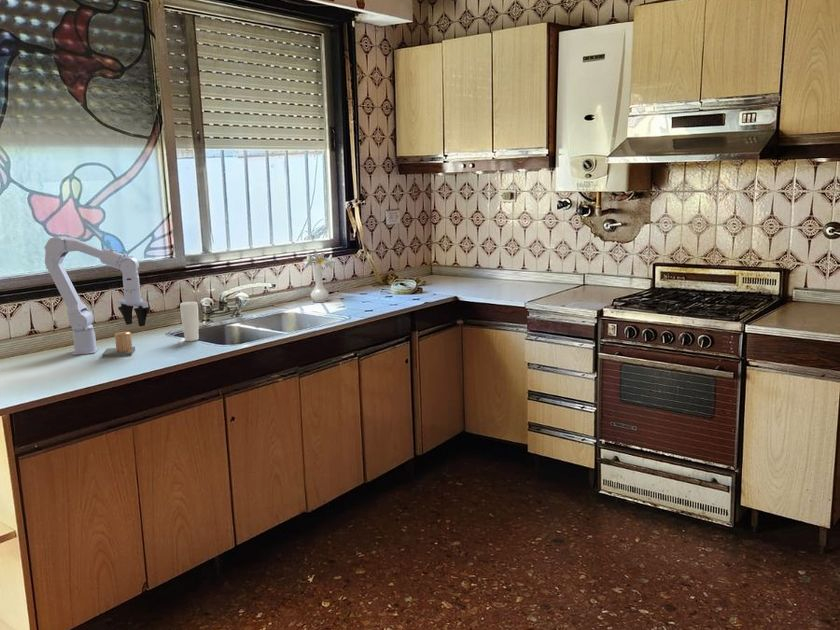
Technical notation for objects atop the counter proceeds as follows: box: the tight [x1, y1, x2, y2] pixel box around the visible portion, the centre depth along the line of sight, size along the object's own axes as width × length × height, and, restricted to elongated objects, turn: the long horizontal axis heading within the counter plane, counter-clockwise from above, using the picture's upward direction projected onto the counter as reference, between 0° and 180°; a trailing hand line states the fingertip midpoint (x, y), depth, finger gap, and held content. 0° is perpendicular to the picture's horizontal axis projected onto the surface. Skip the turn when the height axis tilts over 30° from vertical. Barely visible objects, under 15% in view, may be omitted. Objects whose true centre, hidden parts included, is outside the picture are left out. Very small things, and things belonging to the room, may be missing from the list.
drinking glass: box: [179, 301, 200, 342], centre depth 294 cm, size 7×7×15 cm
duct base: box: [101, 346, 136, 358], centre depth 275 cm, size 10×10×5 cm
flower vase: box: [302, 252, 337, 303], centre depth 376 cm, size 13×18×25 cm
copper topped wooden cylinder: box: [114, 331, 133, 352], centre depth 274 cm, size 6×6×7 cm
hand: (135, 325), depth 280 cm, fingers open, 7 cm apart
